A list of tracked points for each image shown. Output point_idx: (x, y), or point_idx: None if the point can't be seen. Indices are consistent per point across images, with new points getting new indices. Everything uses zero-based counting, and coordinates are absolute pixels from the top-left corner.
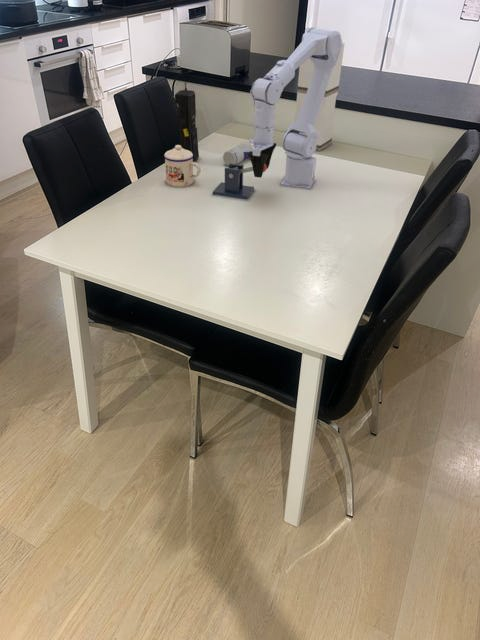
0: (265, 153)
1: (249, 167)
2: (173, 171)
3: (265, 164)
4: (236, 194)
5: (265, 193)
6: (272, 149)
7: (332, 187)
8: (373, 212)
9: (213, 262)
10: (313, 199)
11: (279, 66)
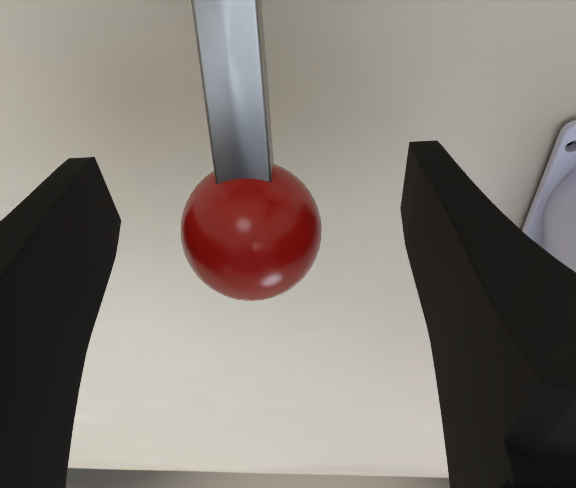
0: (456, 342)
1: (252, 39)
2: None
3: (252, 299)
4: None
5: (356, 51)
6: (450, 472)
7: None
8: (314, 439)
9: None
10: (360, 306)
11: None
